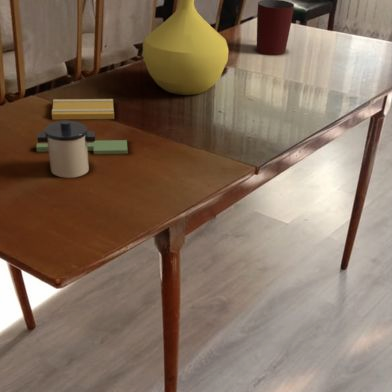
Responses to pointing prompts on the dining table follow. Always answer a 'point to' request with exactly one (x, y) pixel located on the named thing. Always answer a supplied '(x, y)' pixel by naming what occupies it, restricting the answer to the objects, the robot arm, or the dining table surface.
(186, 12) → the vase
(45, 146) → the spatula
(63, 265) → the dining table surface
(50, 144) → the pot
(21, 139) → the dining table surface
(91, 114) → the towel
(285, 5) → the mug
